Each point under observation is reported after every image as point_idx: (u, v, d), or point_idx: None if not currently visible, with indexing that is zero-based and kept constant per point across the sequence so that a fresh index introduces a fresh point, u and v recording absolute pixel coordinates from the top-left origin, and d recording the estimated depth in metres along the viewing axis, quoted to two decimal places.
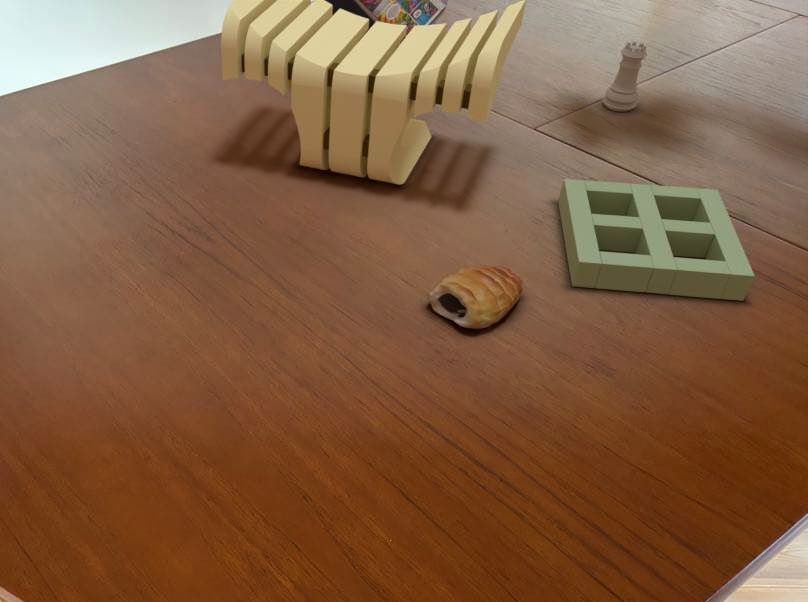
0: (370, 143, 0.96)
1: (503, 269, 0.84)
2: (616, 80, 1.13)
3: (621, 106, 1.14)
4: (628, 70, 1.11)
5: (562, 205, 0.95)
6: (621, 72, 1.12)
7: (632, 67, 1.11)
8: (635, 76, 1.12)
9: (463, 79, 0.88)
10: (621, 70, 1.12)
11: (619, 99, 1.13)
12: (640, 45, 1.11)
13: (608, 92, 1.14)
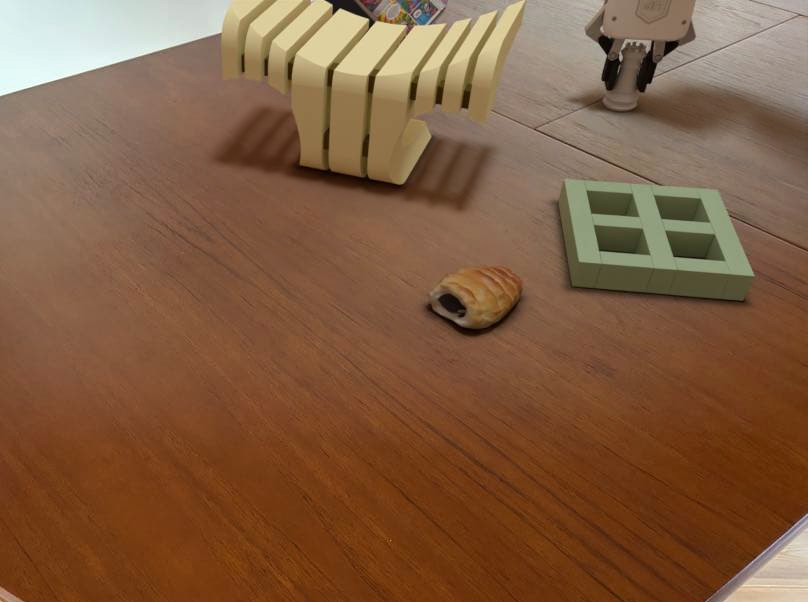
0: (370, 143, 0.96)
1: (503, 269, 0.84)
2: (616, 80, 1.13)
3: (621, 106, 1.14)
4: (628, 70, 1.11)
5: (562, 205, 0.95)
6: (621, 72, 1.12)
7: (632, 67, 1.11)
8: (635, 76, 1.12)
9: (463, 79, 0.88)
10: (621, 70, 1.12)
11: (619, 99, 1.13)
12: (640, 45, 1.11)
13: (608, 92, 1.14)
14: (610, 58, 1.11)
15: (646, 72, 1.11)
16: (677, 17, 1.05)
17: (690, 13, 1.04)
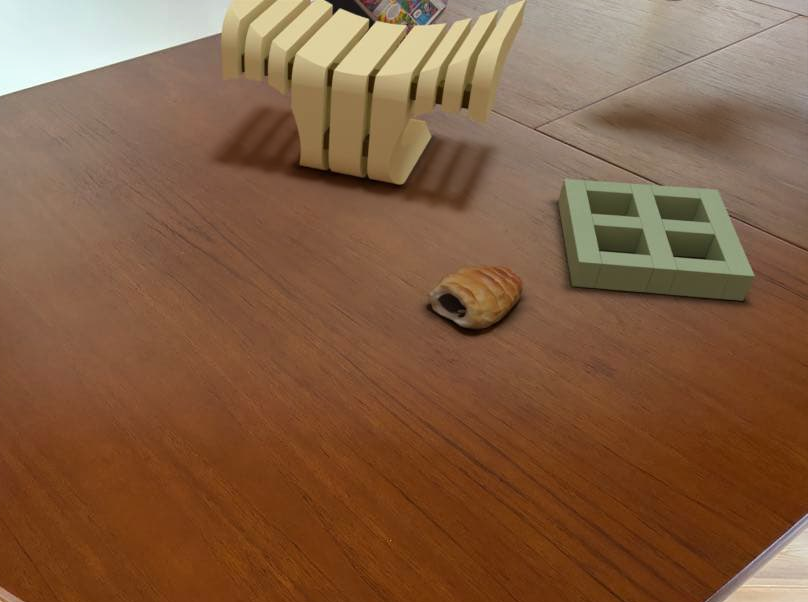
0: (370, 143, 0.96)
1: (503, 269, 0.84)
2: None
3: None
4: None
5: (562, 205, 0.95)
6: None
7: None
8: None
9: (463, 79, 0.88)
10: None
11: None
12: None
13: None
14: None
15: None
16: None
17: None
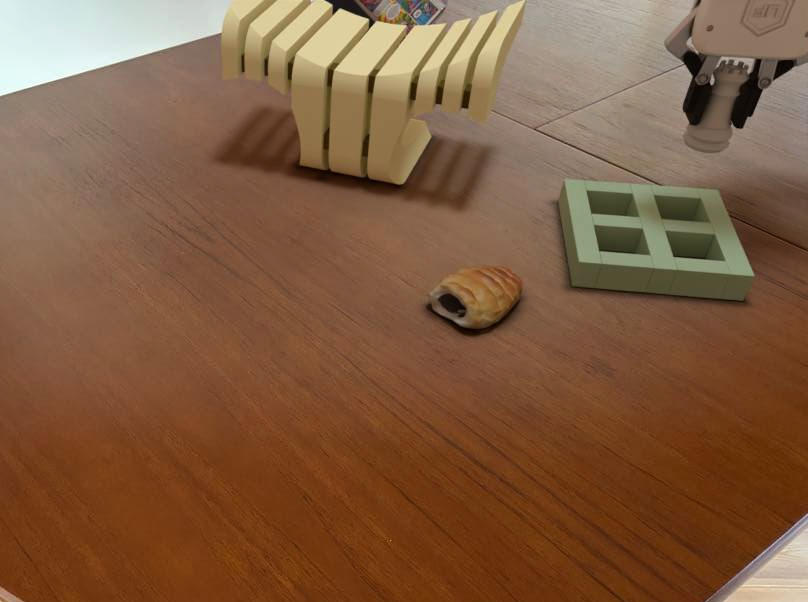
0: (370, 143, 0.96)
1: (503, 269, 0.84)
2: (704, 111, 0.83)
3: (709, 146, 0.84)
4: (722, 98, 0.82)
5: (562, 205, 0.95)
6: (712, 101, 0.82)
7: (728, 95, 0.81)
8: (731, 106, 0.82)
9: (463, 79, 0.88)
10: (712, 98, 0.82)
11: (707, 137, 0.84)
12: (739, 64, 0.81)
13: (692, 126, 0.85)
14: (698, 82, 0.81)
15: (747, 101, 0.81)
16: (799, 27, 0.75)
17: None
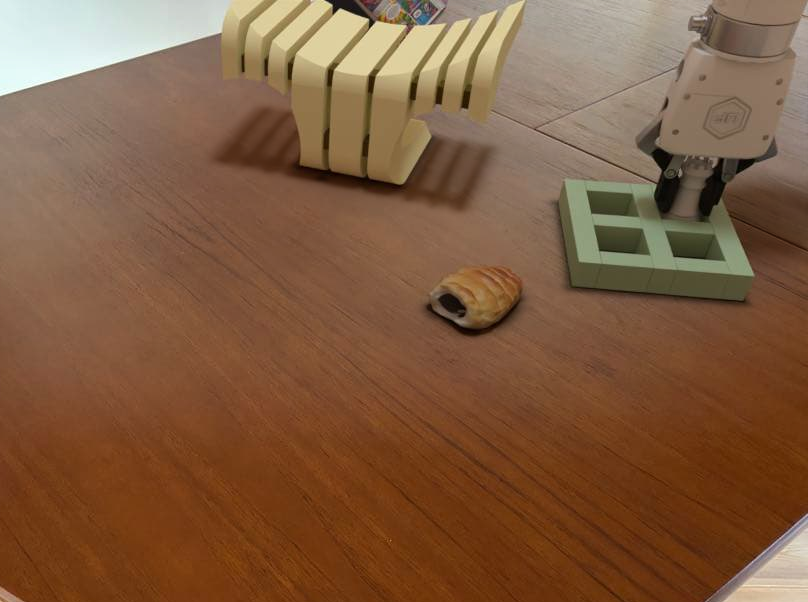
0: (370, 143, 0.96)
1: (503, 269, 0.84)
2: (673, 200, 0.90)
3: None
4: (689, 190, 0.88)
5: (562, 205, 0.95)
6: (680, 192, 0.89)
7: (695, 187, 0.88)
8: (698, 197, 0.89)
9: (463, 79, 0.88)
10: (680, 189, 0.89)
11: None
12: (705, 159, 0.88)
13: (663, 213, 0.91)
14: (667, 176, 0.88)
15: (712, 193, 0.88)
16: (757, 132, 0.82)
17: (774, 127, 0.81)
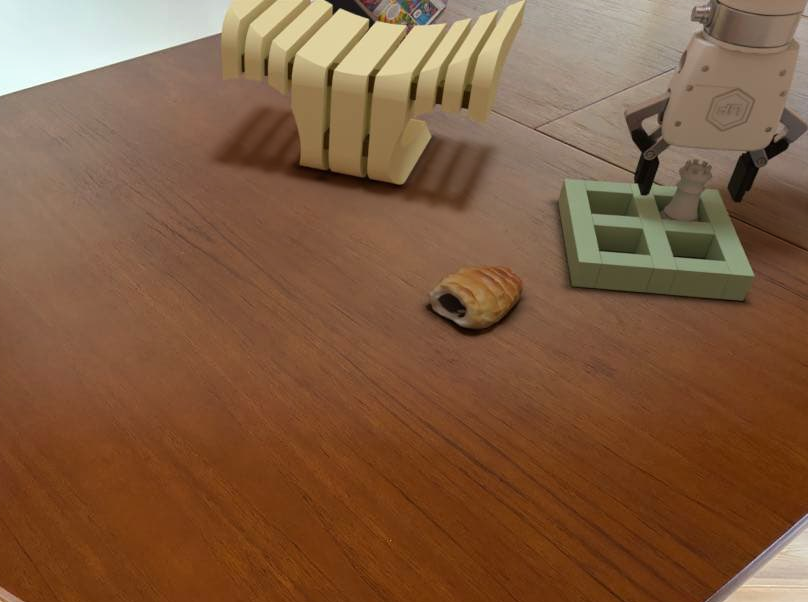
0: (370, 143, 0.96)
1: (503, 269, 0.84)
2: (672, 204, 0.91)
3: None
4: (688, 195, 0.89)
5: (562, 205, 0.95)
6: (679, 197, 0.90)
7: (693, 192, 0.88)
8: (696, 201, 0.89)
9: (463, 79, 0.88)
10: (679, 194, 0.89)
11: None
12: (703, 164, 0.88)
13: (661, 218, 0.92)
14: (645, 156, 0.87)
15: (745, 178, 0.86)
16: (760, 124, 0.81)
17: (777, 119, 0.81)
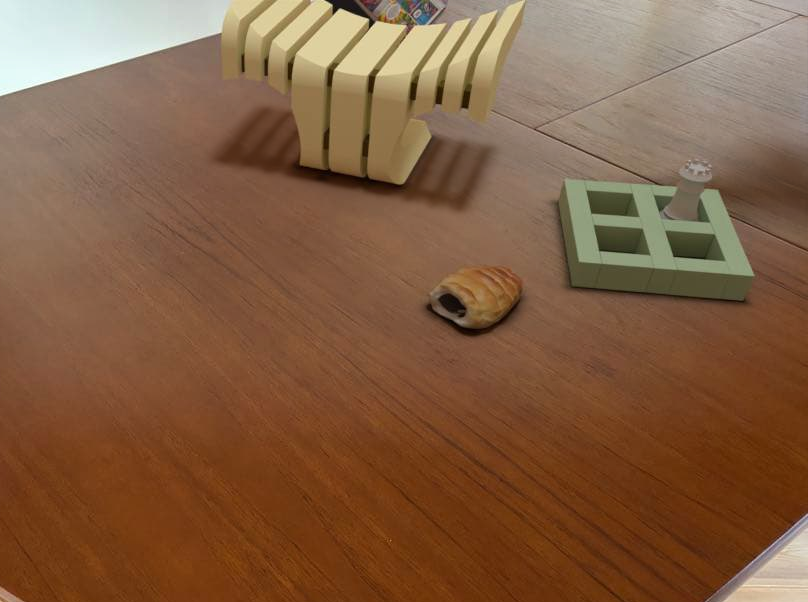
0: (370, 143, 0.96)
1: (503, 269, 0.84)
2: (672, 205, 0.91)
3: None
4: (688, 195, 0.89)
5: (562, 205, 0.95)
6: (679, 197, 0.90)
7: (693, 192, 0.88)
8: (696, 201, 0.89)
9: (463, 79, 0.88)
10: (679, 194, 0.89)
11: None
12: (703, 164, 0.88)
13: (661, 218, 0.92)
14: None
15: None
16: None
17: None
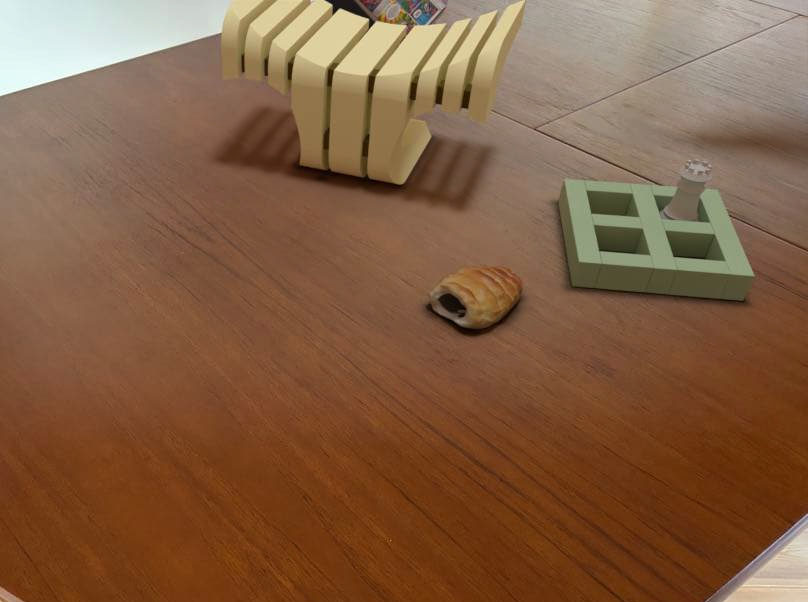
0: (370, 143, 0.96)
1: (503, 269, 0.84)
2: (672, 205, 0.91)
3: None
4: (688, 195, 0.89)
5: (562, 205, 0.95)
6: (679, 197, 0.90)
7: (693, 192, 0.88)
8: (696, 201, 0.89)
9: (463, 79, 0.88)
10: (679, 194, 0.89)
11: None
12: (703, 164, 0.88)
13: (661, 218, 0.92)
14: None
15: None
16: None
17: None
